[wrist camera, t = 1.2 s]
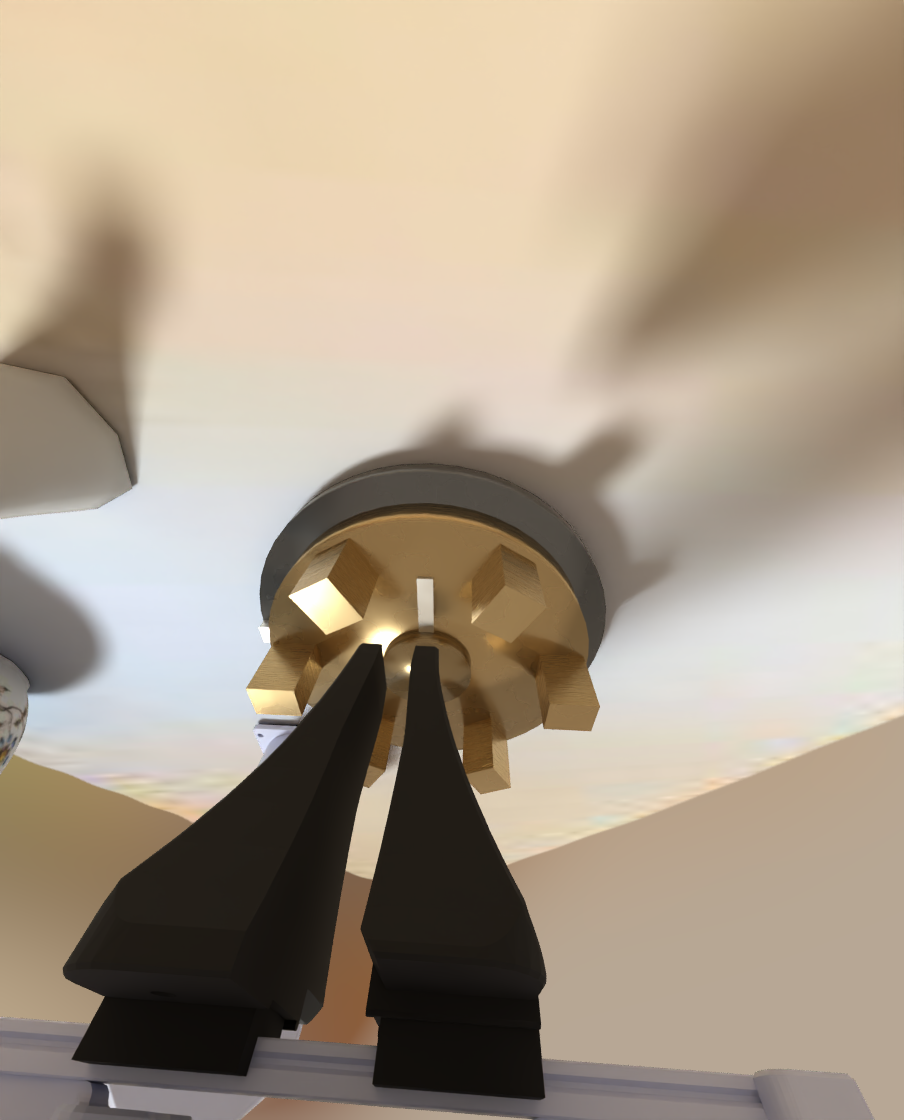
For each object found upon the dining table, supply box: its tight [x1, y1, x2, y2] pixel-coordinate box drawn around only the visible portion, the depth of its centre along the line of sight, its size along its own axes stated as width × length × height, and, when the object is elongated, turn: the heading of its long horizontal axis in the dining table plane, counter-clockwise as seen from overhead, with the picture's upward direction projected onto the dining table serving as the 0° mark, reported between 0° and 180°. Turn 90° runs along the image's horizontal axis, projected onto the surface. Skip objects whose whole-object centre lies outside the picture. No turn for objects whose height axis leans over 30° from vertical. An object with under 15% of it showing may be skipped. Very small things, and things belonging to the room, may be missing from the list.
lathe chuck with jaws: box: [246, 503, 600, 794], centre depth 21 cm, size 18×18×5 cm
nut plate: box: [259, 464, 606, 668], centre depth 24 cm, size 21×21×2 cm
